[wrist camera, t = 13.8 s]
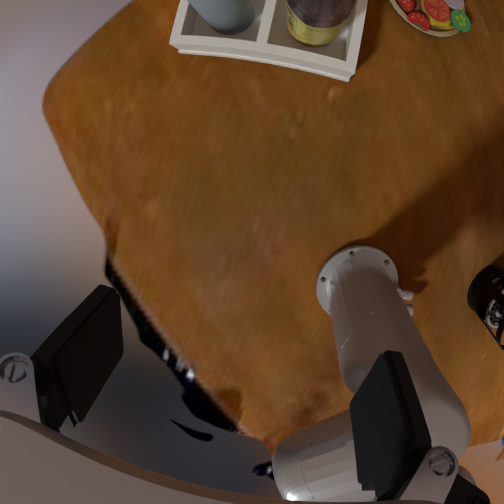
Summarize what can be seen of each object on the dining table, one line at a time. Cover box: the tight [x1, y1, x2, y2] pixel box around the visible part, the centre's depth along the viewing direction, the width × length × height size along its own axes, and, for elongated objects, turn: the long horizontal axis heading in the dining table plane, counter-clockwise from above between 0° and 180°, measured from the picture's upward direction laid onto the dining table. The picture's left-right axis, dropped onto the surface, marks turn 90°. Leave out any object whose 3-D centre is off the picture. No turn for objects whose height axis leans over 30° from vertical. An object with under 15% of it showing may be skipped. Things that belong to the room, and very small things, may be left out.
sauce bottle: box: [286, 0, 355, 47], centre depth 21 cm, size 6×6×20 cm
